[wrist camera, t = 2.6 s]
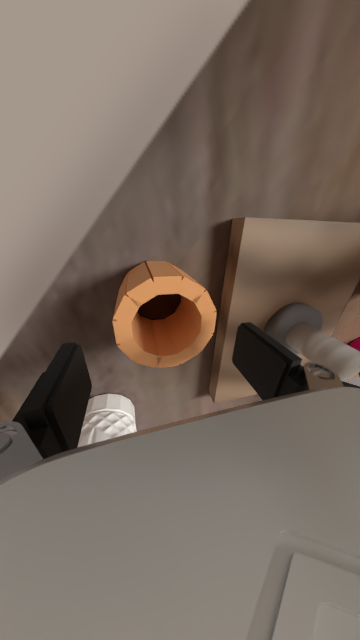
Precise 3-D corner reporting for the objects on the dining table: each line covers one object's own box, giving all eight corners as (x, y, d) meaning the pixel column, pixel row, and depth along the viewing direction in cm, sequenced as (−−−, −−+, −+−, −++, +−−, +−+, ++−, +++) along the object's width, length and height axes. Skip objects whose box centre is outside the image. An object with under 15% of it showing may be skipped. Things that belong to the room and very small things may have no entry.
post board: (232, 218, 15) (334, 207, 8) (363, 224, 19) (522, 221, 11) (208, 391, 26) (242, 462, 18) (297, 374, 29) (357, 426, 21)
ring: (114, 261, 15) (104, 278, 10) (192, 260, 16) (221, 274, 11) (124, 332, 18) (121, 373, 13) (189, 325, 19) (210, 360, 14)
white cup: (114, 378, 20) (103, 488, 12) (149, 411, 24) (159, 510, 16) (56, 411, 20) (2, 544, 12) (100, 438, 24) (84, 551, 16)
